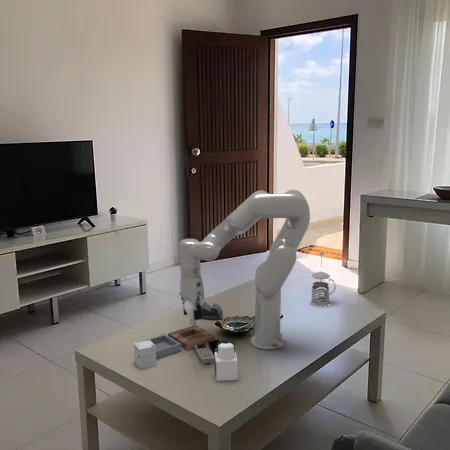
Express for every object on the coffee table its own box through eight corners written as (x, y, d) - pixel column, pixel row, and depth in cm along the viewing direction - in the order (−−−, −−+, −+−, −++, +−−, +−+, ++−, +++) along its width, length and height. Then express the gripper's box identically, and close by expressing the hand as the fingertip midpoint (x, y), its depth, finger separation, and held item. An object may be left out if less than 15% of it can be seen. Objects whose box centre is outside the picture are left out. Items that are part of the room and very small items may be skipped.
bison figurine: (222, 321, 213) (226, 312, 223) (221, 306, 211) (226, 297, 221) (194, 320, 215) (200, 310, 225) (194, 304, 214) (199, 296, 223)
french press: (308, 300, 238) (310, 248, 233) (333, 301, 236) (335, 249, 231) (309, 307, 228) (311, 254, 223) (335, 308, 227) (337, 255, 222)
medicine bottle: (214, 370, 170) (214, 337, 168) (235, 370, 171) (235, 337, 168) (216, 381, 163) (215, 347, 161) (237, 380, 164) (237, 346, 162)
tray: (181, 351, 185) (180, 343, 184) (154, 360, 178) (154, 352, 178) (165, 341, 193) (165, 334, 193) (139, 349, 187) (139, 341, 186)
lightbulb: (199, 328, 189) (197, 301, 187) (182, 328, 190) (181, 300, 188) (203, 322, 195) (201, 295, 193) (187, 321, 197) (186, 294, 194)
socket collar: (214, 341, 193) (214, 335, 193) (186, 350, 185) (186, 344, 185) (195, 330, 203) (195, 325, 203) (168, 339, 195) (168, 333, 195)
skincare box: (134, 362, 177) (133, 342, 175) (150, 358, 180) (149, 339, 178) (140, 369, 172) (139, 349, 170) (156, 365, 175) (156, 345, 173)
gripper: (212, 274, 184) (214, 320, 188) (186, 265, 198) (188, 308, 201) (195, 278, 180) (197, 325, 183) (170, 268, 193) (172, 312, 197)
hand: (192, 316), depth 192 cm, fingers closed on lightbulb, 6 cm apart
